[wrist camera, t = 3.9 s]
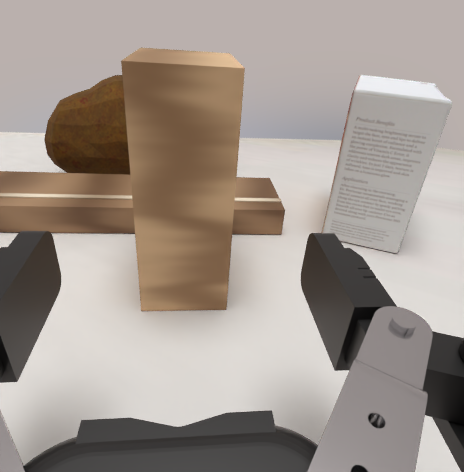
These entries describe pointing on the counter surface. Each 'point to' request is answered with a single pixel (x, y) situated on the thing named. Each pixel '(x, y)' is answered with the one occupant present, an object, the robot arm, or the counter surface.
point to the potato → (90, 131)
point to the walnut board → (113, 204)
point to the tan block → (183, 173)
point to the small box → (384, 160)
